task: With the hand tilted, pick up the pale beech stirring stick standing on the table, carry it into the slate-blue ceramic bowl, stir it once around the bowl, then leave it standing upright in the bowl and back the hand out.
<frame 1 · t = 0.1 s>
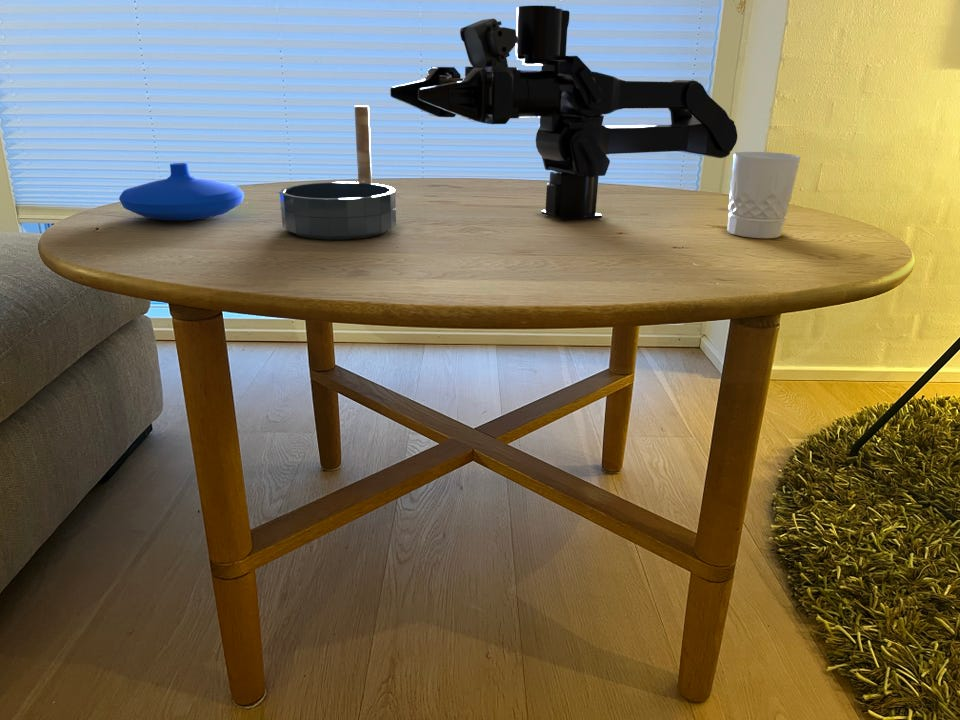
hand: (404, 93, 83), 17 cm above the table, tool horizontal, fingers open, 9 cm apart
vase: (186, 218, 96), on the table
stirring stick: (365, 197, 113), on the table
bowl: (340, 229, 90), on the table
white cup: (753, 235, 92), on the table
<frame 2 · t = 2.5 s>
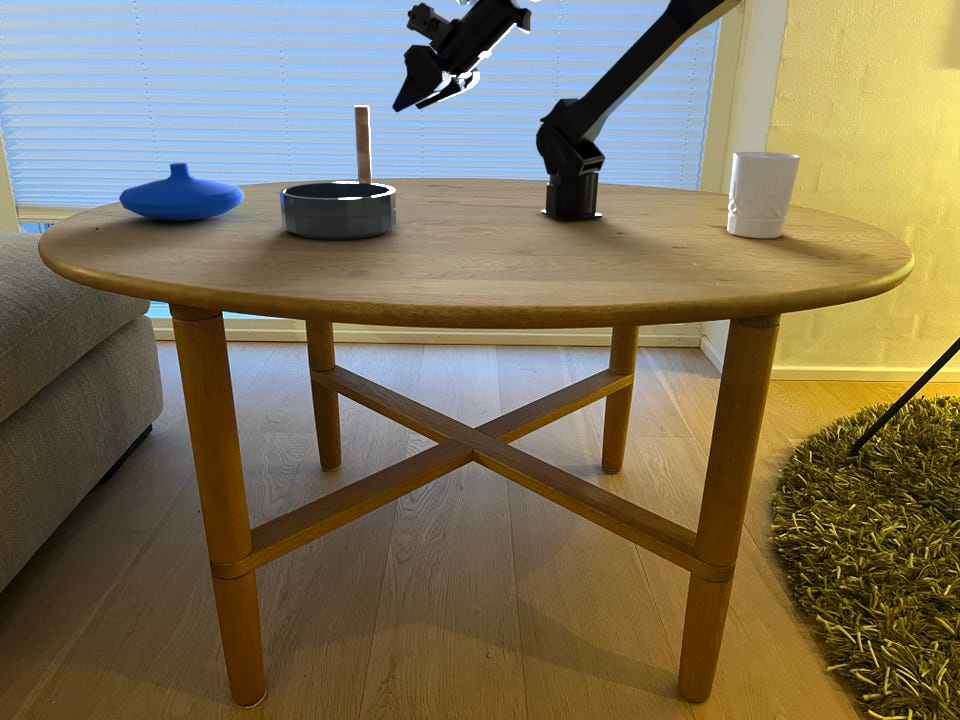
hand: (406, 108, 105), 14 cm above the table, tool tilted 45°, fingers open, 9 cm apart
nothing on the table moved.
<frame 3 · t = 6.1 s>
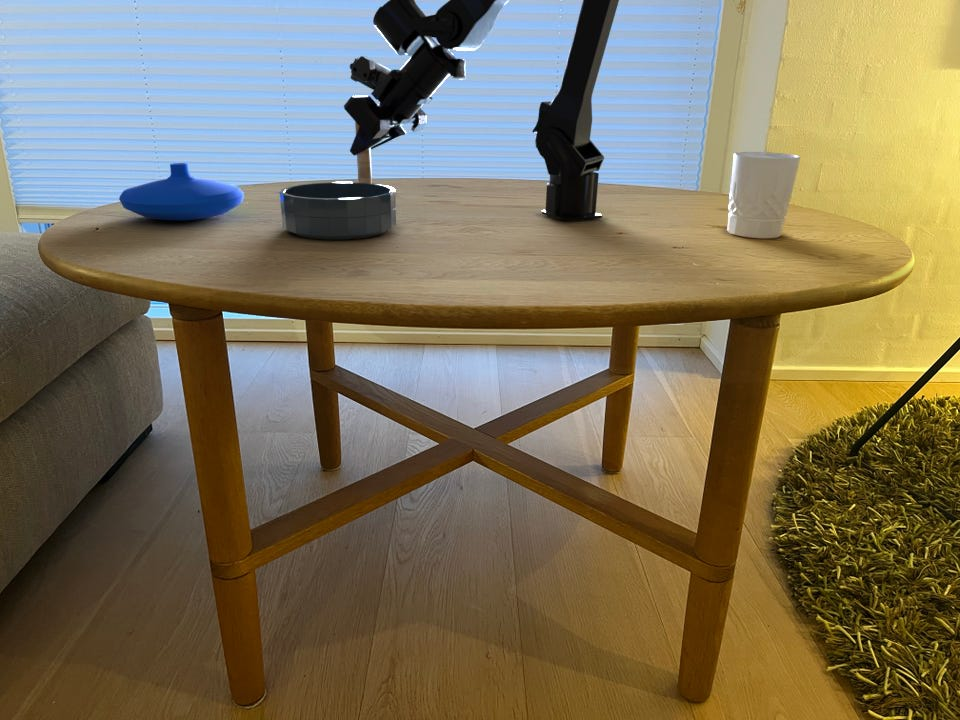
hand: (355, 152, 111), 7 cm above the table, tool tilted 45°, fingers closed on stirring stick, 2 cm apart
stirring stick: (365, 197, 113), on the table, touching gripper
everything else where it was.
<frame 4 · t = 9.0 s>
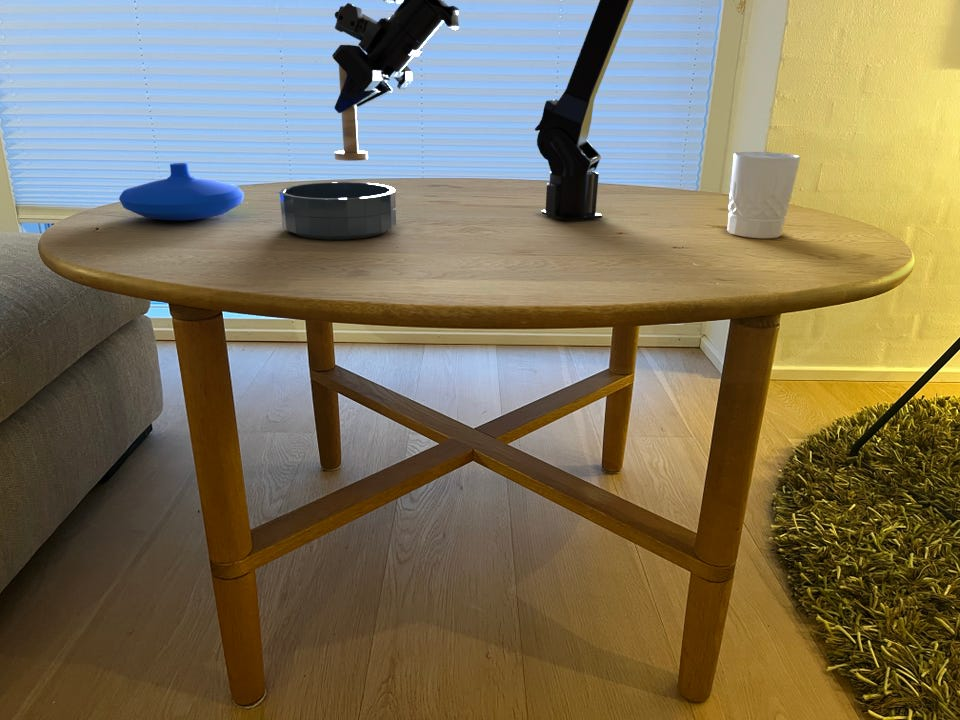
hand: (340, 110, 105), 13 cm above the table, tool tilted 45°, fingers closed on stirring stick, 2 cm apart
stirring stick: (351, 158, 107), point 7 cm above the table, touching gripper
everything else where it was.
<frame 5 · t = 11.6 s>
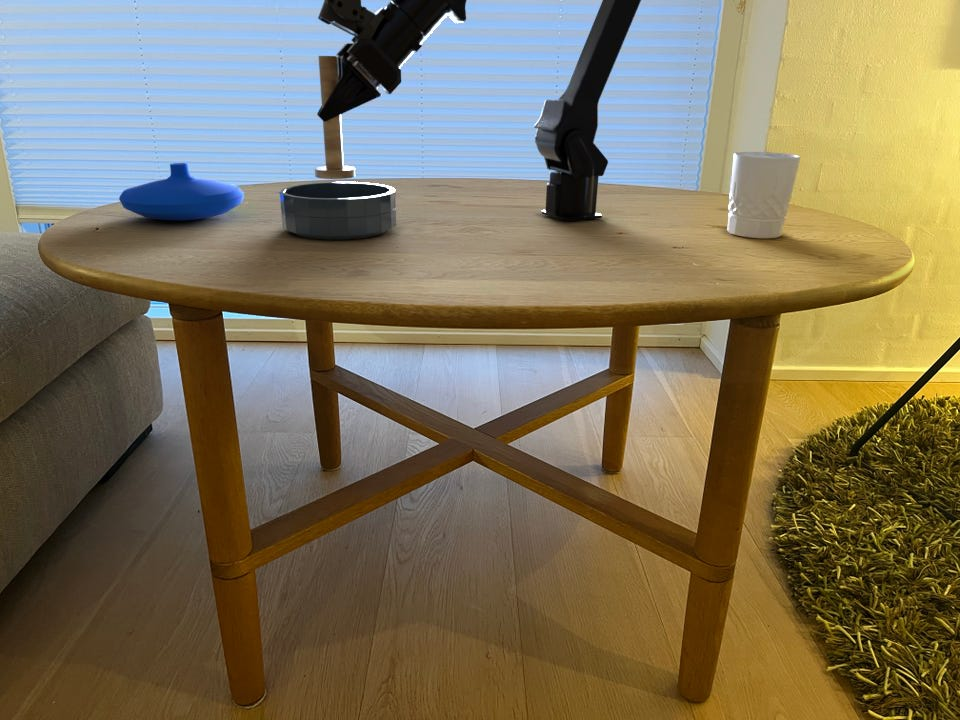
hand: (320, 118, 85), 14 cm above the table, tool tilted 45°, fingers closed on stirring stick, 2 cm apart
stirring stick: (335, 176, 88), point 7 cm above the table, touching gripper
everything else where it was.
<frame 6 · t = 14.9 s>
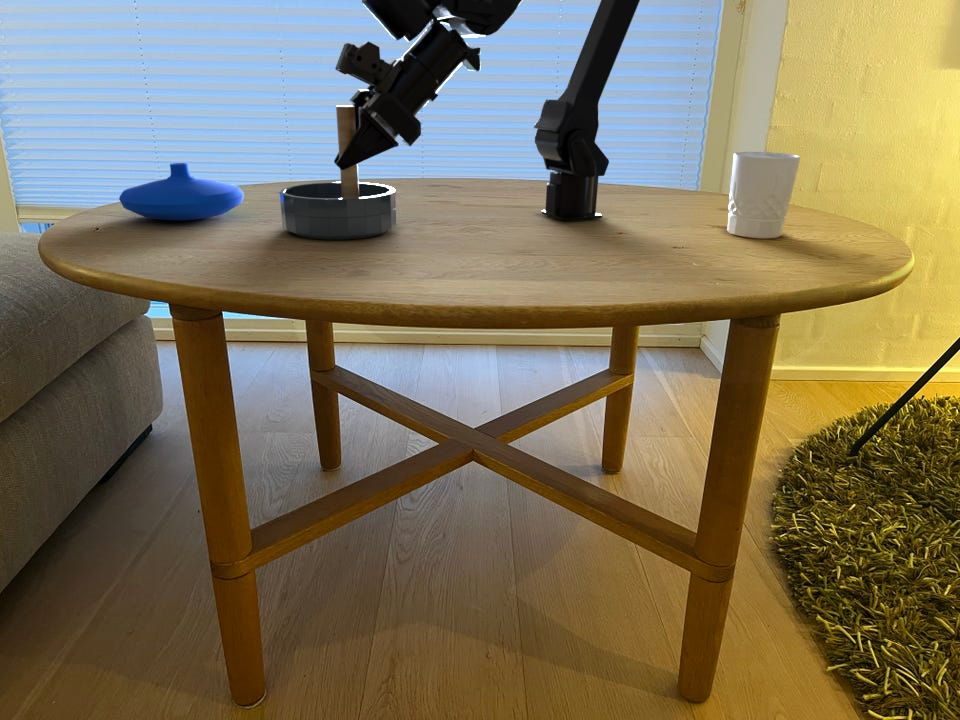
hand: (337, 166, 86), 8 cm above the table, tool tilted 45°, fingers closed on stirring stick, 2 cm apart
stirring stick: (352, 221, 89), point 1 cm above the table, touching gripper
everything else where it was.
when the fingers open (8 cm above the table, at t = 17.1 s): stirring stick stays where it is, resting on bowl.
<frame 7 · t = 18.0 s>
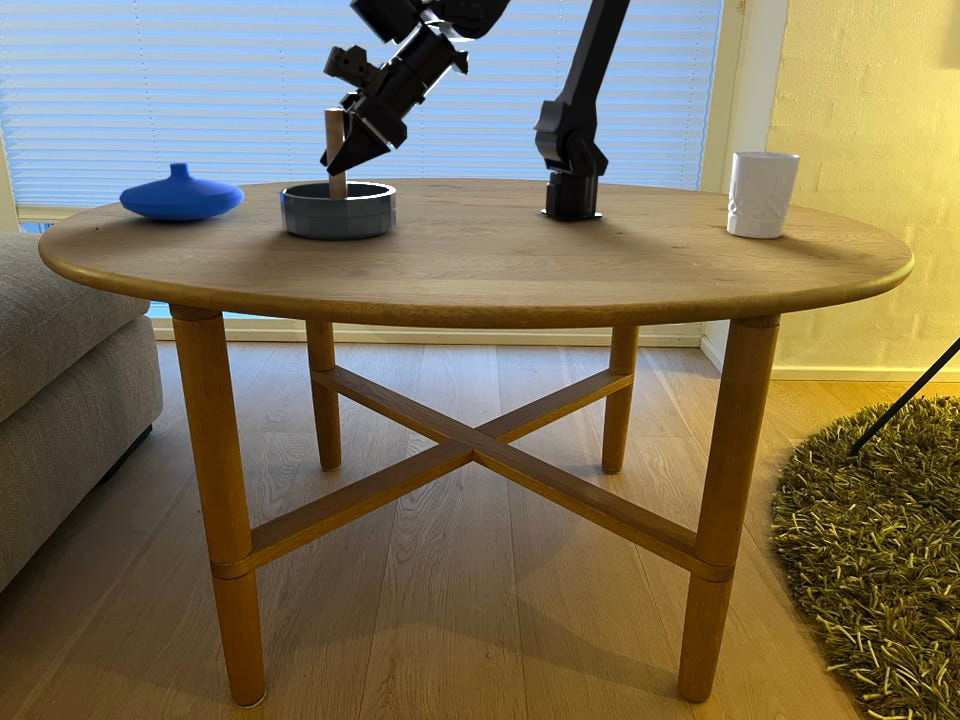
hand: (325, 168, 86), 8 cm above the table, tool tilted 45°, fingers open, 9 cm apart
stirring stick: (340, 224, 89), point 1 cm above the table, touching bowl
everything else where it was.
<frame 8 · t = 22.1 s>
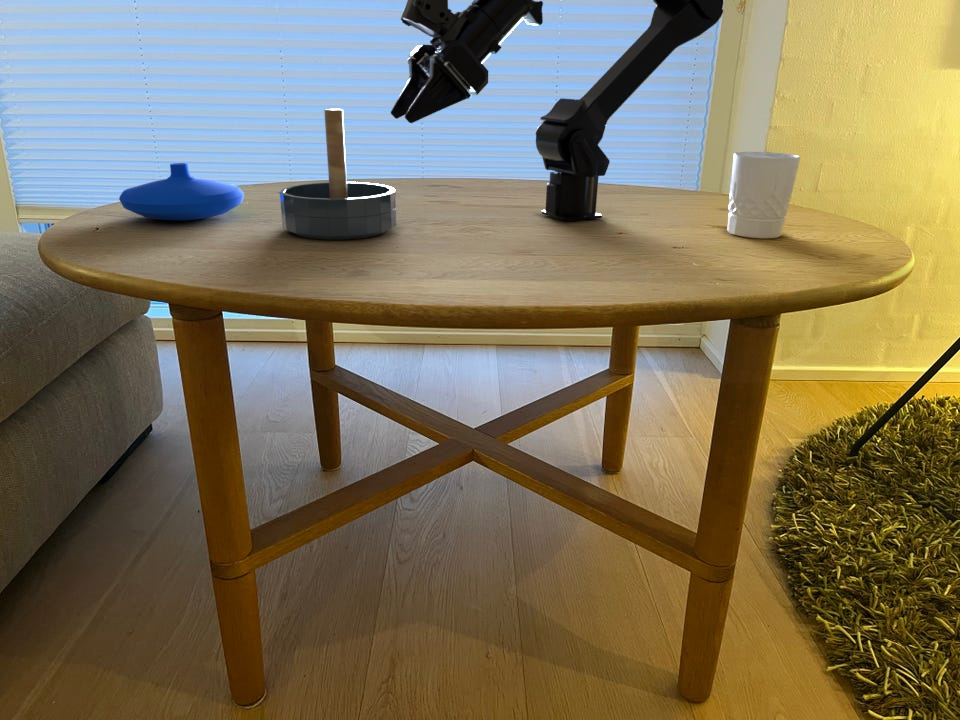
hand: (399, 118, 87), 14 cm above the table, tool tilted 45°, fingers open, 9 cm apart
nothing on the table moved.
at the end: stirring stick inside the target area in the bowl (0.0 cm from its centre), point 0.6 cm above the bowl's base; stirring stick tilted 0°; the gripper is holding nothing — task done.
